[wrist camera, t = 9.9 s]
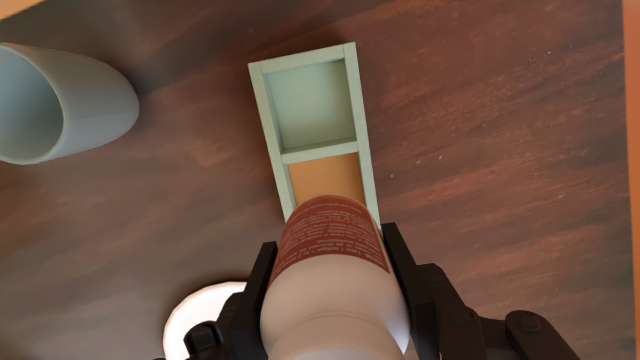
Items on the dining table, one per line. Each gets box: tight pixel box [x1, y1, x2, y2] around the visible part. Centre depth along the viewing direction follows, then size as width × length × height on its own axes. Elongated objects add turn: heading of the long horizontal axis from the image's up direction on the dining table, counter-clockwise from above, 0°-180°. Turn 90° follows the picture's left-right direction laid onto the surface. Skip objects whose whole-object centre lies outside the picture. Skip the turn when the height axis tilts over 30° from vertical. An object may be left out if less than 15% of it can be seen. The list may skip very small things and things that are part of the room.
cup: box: [0, 42, 140, 165], centre depth 24 cm, size 8×8×10 cm
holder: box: [248, 42, 381, 230], centre depth 28 cm, size 9×17×3 cm, turn 10°
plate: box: [163, 281, 247, 360], centre depth 37 cm, size 21×21×1 cm
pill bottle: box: [260, 193, 411, 360], centre depth 14 cm, size 6×6×11 cm
